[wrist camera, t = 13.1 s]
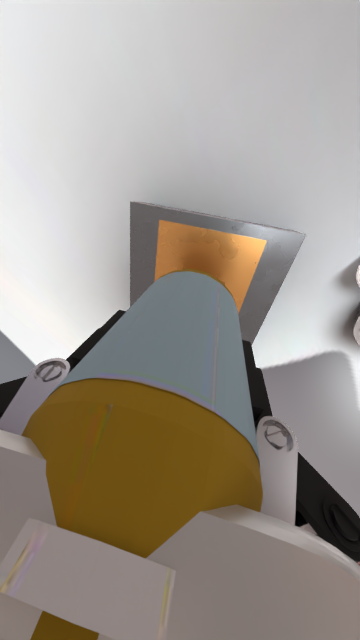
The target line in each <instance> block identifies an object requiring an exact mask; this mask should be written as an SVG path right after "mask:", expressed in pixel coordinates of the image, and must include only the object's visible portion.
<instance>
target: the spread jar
mask: <svg viewBox="0 0 360 640" xmlns="http://www.w3.org/2000/svg"><path fill="white" fill-rule="evenodd" d="M356 281H357V284H358V286H359V288H360V265H359V266H358V269H357V272H356ZM353 334H354V337H355V340H356V341H357V343H358V344H359V346H360V309H359V311H358V313H357V315H356V318H355V321H354V325H353Z"/></svg>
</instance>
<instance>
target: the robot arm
mask: <svg viewBox="0 0 360 640" xmlns="http://www.w3.org/2000/svg"><path fill="white" fill-rule="evenodd" d="M125 313H126V311H122V310H119V311H117V312H116V313H115V314H114V315H113V316H112V317H111V318H110V319H109V320H108V321H107V322H106V323H105V324H104V325H103V326H102V327H101V328H99V329H97V330H96V331H95V332H94V333H93V334H92V335H91V336H90V337H89V338H88V339H87V340H86V341H85V342H84V343H83V344H82V345H81V346H80V347H79V348H78V349H77V350H76V351H75V352H74V353H72V354H71V355H70V356H69V357H68V358H67V359H66V360H64V359H61V358H54V359H49V360H45V361H43V362H41V363H39V364H38V365H36V366H35V367H34V368H33V369H32V370H31V372H30V373H29V375H28V376H27V377H24V378H20V379H17V380H13V381H10V382H7V383H3V384H0V565H1V563H2V561H3V560H4V558H5V556H6V555H7V553H8V551H9V550H10V548H11V546H12V545H13V543H14V541H15V540H16V538H17V536H18V535H19V533H20V531H21V530H22V528H23V526H24V525H25V523H26V521H27V520H28V518H32V519H35V520H39V521H42V522H45V523H48V524H51V525H54V526H57V525H56V520H55V515H54V511H53V506H52V501H51V497H50V492H49V487H48V482H47V478H46V460H45V459H44V457H43V456H42V454H41V453H40V451H39V450H38V448H37V447H36V445H35V444H34V443H33V441H32V440H31V439H30V438H27V437H24V436H21V435H22V433H23V431H24V429H25V427H26V425H27V423H28V421H29V419H30V417H31V415H32V414H33V413H34V412H35V411H36V410H37V409H38V408H39V407H40V406H41V405H42V403H43V402H44V401H45V400H46V399H47V397H48V396H49V394H50V393H51V392H52V391H53V390H54V389H55V388H56V387H57V386H58V385H59V384H60V383H61V382H62V380H63V379H64V378H65V377H66V376H67V375H68V374H69V373H70V372H71V371H72V370H73V369H74V368H75V366H76V365H77V364H78V363H79V362H80V361H81V360H82V359H83V358H84V357H85V356H86V355H87V354H88V352H89V351H90V350H91V349H92V348H93V347H94V346H95V345H96V344H97V343H98V342H99V341H100V340H101V338H102V337H103V336H104V335H105V334H106V333H107V332H108V331H109V330H110V329H111V328H112V327H113V326H114V324H115V323H116V322H117V321H118V320H119V319H120V318H121V317H122V316H123V315H124V314H125ZM242 344H243V351H244V358H245V365H246V372H247V379H248V386H249V392H250V399H251V406H252V412H253V419H254V426H255V433H256V440H257V446H258V453H259V459H258V461H259V460H260V461H259V468H260V475H261V482H262V489H263V499H262V506H261V512H257V511H254V510H251V509H248V508H245V507H242V506H240V505H231V506H226V507H221V508H217V509H213V510H209V511H200V512H199V513H198V514H197V515H196V516H195V517H193V518H192V519H191V520H190V521H189V522H188V523H187V524H185V525H184V526H183V527H182V528H181V529H180V530H178V531H177V532H176V533H175V534H174V535H173V536H172V537H170V538H169V539H168V540H167V541H166V542H165V543H163V544H162V545H161V546H160V547H159V548H158V549H156V550H155V551H154V552H153V553H152V554H151V555H149V556H148V557H147V558H146V559H147V560H150V561H153V562H155V563H158V564H160V565H163V566H166V567H168V568H170V569H173V570H175V571H176V574H175V581H174V588H173V595H172V601H171V608H170V615H169V621H168V628H167V634H166V640H360V518H359V516H358V515H357V513H356V512H355V511H354V510H353V509H352V507H351V506H350V505H349V504H348V503H347V502H346V501H345V500H344V499H343V498H342V497H341V496H340V495H339V494H338V493H337V492H336V491H335V490H334V489H333V488H332V487H331V486H330V484H328V482H327V481H326V480H325V479H324V478H323V477H322V476H321V475H320V474H319V473H318V472H317V471H316V470H315V469H314V468H313V467H312V466H311V465H310V464H309V463H308V462H307V461H306V460H305V459H304V458H303V457H302V456H301V454H300V453H299V452H298V444H297V439H296V437H295V435H294V433H293V432H292V430H291V429H290V428H289V427H288V426H287V425H286V424H285V423H284V422H283V421H281V420H280V419H278V418H276V417H273V416H272V412H271V408H270V404H269V399H268V395H267V391H266V387H265V383H264V379H263V374H262V371H261V369H260V368H256V366H255V361H254V356H253V351H252V347H251V342H250V341H246V340H242ZM42 611H43V610H41V609H39V608H36V607H34V606H32V605H29V604H27V603H25V602H23V601H20V600H18V599H16V598H13V597H11V596H9V595H6V594H4V593H2V592H0V640H30V639H31V637H32V634H33V632H34V629H35V627H36V625H37V622H38V620H39V618H40V615H41V613H42ZM97 640H116V639H114V638H111V637H108V636H106V635H103V634H100V633H99V636H98V639H97Z"/></svg>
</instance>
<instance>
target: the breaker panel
mask: <svg viewBox="0 0 360 640" xmlns="http://www.w3.org/2000/svg"><path fill="white" fill-rule="evenodd" d="M305 236H306V235H305V234H302V233H299V232H297V231H293V230H287V229H282V228H277V227H271V226H266V225H261V224H255V223H250V222H245V221H240V220H234V219H229V218H224V217H218V216H213V215H208V214H202V213H197V212H192V211H187V210H181V209H176V208H171V207H165V206H160V205H155V204H149V203H144V202H130V307H131V306H132V305H133V304H134V303H135V302H136V301H137V300H138V299H139V298H140V297H141V295H142V294H143V293H144V292H145V291H146V290H147V289H148V288H149V287H150V286H151V285H152V284H153V283H154V282H155V281H156V280H157V279H158V278H160V277H161V276H162V275H165V274H167V273H169V272H172V271H175V270H182V269H194V270H198V271H202V272H206V273H208V274H210V275H212V276H214V277H215V278H217V279H219V280H220V281H221V282H223V283H224V285H225V286H226V287H227V288H228V289H229V291H230V292H231V293H232V295H233V298H234V300H235V303H236V307H237V310H238V317H239V324H240V330H241V337H242V340H246V341H250V342H251V345H252V343H253V341H254V339H255V337H256V335H257V333H258V331H259V329H260V327H261V325H262V323H263V321H264V319H265V317H266V315H267V313H268V311H269V309H270V307H271V305H272V303H273V301H274V299H275V297H276V295H277V293H278V291H279V289H280V287H281V285H282V283H283V281H284V279H285V277H286V275H287V273H288V271H289V269H290V267H291V265H292V263H293V261H294V259H295V257H296V255H297V253H298V251H299V248H300V246H301V244H302V242H303V240H304V238H305Z"/></svg>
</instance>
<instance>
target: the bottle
mask: <svg viewBox="0 0 360 640" xmlns="http://www.w3.org/2000/svg"><path fill="white" fill-rule="evenodd" d="M21 436H24V437H27V438H30V439H31V440H32V441H33V443H34V444H35V445H36V447H37V448H38V450H39V451H40V453H41V454H42V456H43V457H44V459H45V460H46V478H47V482H48V487H49V492H50V497H51V501H52V506H53V511H54V515H55V520H56V525H57V526H54V525H51V524H48V523H45V522H42V521H39V520H35V519H32V518H28V520H27V521H26V523H25V525H24V526H23V528H22V530H21V531H20V533H19V535H18V536H17V538H16V540H15V541H14V543H13V545H12V546H11V548H10V550H9V551H8V553H7V555H6V556H5V558H4V560H3V561H2V563H1V565H0V592H2V593H4V594H6V595H9V596H11V597H13V598H16V599H18V600H20V601H23V602H25V603H27V604H29V605H32V606H34V607H36V608H39V609H41V610H43V611H42V613H41V615H40V618H39V620H38V622H37V625H36V627H35V629H34V632H33V634H32V637H31V639H30V640H97V639H98V636H99V633H100V634H103V635H106V636H108V637H111V638H114V639H116V640H166V634H167V628H168V621H169V615H170V608H171V601H172V595H173V588H174V581H175V574H176V571H175V570H173V569H170V568H168V567H166V566H163V565H160V564H158V563H155V562H153V561H150V560H147V559H146V558H147V557H148V556H149V555H151V554H152V553H153V552H154V551H155V550H156V549H158V548H159V547H160V546H161V545H162V544H163V543H165V542H166V541H167V540H168V539H169V538H170V537H172V536H173V535H174V534H175V533H176V532H177V531H178V530H180V529H181V528H182V527H183V526H184V525H185V524H187V523H188V522H189V521H190V520H191V519H192V518H193V517H195V516H196V515H197V514H198V513H199V512H200V511H209V510H213V509H217V508H221V507H226V506H231V505H240V506H242V507H245V508H248V509H251V510H254V511H257V512H261V506H262V499H263V489H262V482H261V475H260V468H259V461H260V460H259V461H258V459H259V453H258V446H257V440H256V433H255V426H254V419H253V412H252V406H251V399H250V392H249V386H248V379H247V372H246V365H245V358H244V351H243V344H242V337H241V330H240V324H239V317H238V310H237V307H236V303H235V300H234V298H233V295H232V293H231V292H230V291H229V289H228V288H227V287H226V286H225V285H224V283H223V282H221V281H220V280H219V279H217V278H215V277H214V276H212V275H210V274H208V273H206V272H202V271H198V270H194V269H182V270H175V271H172V272H169V273H167V274H165V275H162V276H161V277H160V278H158V279H157V280H156V281H155V282H154V283H153V284H152V285H151V286H150V287H149V288H148V289H147V290H146V291H145V292H144V293H143V294H142V295H141V297H140V298H139V299H138V300H137V301H136V302H135V303H134V304H133V305H132V306H131V307H130V308H129V309H128V310H127V312H126V313H125V314H124V315H123V316H122V317H121V318H120V319H119V320H118V321H117V322H116V323H115V324H114V326H113V327H112V328H111V329H110V330H109V331H108V332H107V333H106V334H105V335H104V336H103V337H102V338H101V340H100V341H99V342H98V343H97V344H96V345H95V346H94V347H93V348H92V349H91V350H90V351H89V352H88V354H87V355H86V356H85V357H84V358H83V359H82V360H81V361H80V362H79V363H78V364H77V365H76V366H75V368H74V369H73V370H72V371H71V372H70V373H69V374H68V375H67V376H66V377H65V378H64V379H63V380H62V382H61V383H60V384H59V385H58V386H57V387H56V388H55V389H54V390H53V391H52V392H51V393H50V394H49V396H48V397H47V399H46V400H45V401H44V402H43V403H42V405H41V406H40V407H39V408H38V409H37V410H36V411H35V412H34V413H33V414H32V415H31V417H30V419H29V421H28V423H27V425H26V427H25V429H24V431H23V433H22V435H21Z"/></svg>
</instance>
